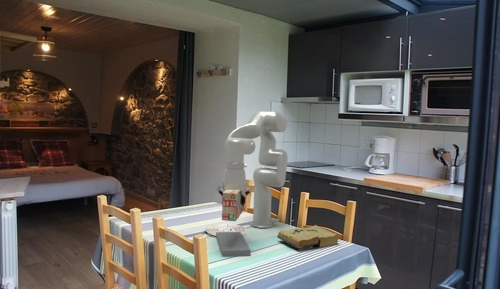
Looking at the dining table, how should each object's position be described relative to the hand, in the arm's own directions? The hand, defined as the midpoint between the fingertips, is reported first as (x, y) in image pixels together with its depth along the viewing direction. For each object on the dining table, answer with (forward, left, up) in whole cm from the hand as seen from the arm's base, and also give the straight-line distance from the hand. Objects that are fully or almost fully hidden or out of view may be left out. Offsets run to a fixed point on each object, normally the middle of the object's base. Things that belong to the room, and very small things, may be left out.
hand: (233, 204), depth 173 cm
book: (-37, -1, -20) cm, 42 cm away
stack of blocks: (0, -1, -5) cm, 5 cm away
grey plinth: (0, 0, -19) cm, 19 cm away
